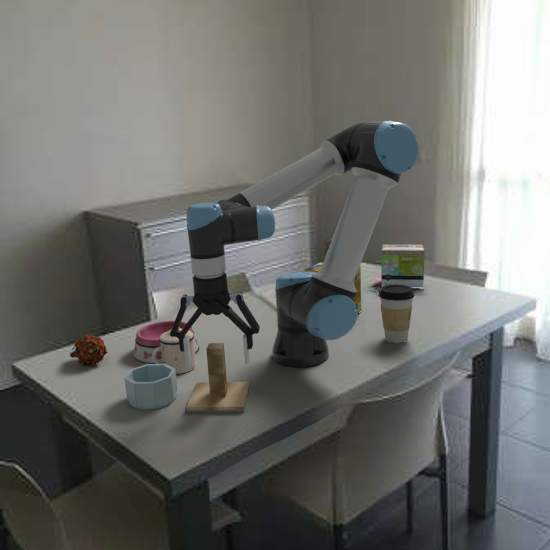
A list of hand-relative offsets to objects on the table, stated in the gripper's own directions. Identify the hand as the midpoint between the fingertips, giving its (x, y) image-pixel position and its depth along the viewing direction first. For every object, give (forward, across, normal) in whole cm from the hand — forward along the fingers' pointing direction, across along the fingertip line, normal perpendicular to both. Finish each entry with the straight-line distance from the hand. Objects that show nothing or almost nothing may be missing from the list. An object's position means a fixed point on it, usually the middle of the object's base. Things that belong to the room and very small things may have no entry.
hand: (218, 362), depth 142 cm
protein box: (+10, -28, -60) cm, 67 cm away
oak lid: (+8, 0, 0) cm, 9 cm away
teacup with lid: (+9, +15, -18) cm, 25 cm away
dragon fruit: (+9, +40, -24) cm, 47 cm away
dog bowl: (+9, +20, -31) cm, 38 cm away
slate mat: (+9, 0, 0) cm, 9 cm away
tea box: (+11, -54, -90) cm, 105 cm away
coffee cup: (+10, -45, -36) cm, 58 cm away
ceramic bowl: (+9, +16, -1) cm, 19 cm away
